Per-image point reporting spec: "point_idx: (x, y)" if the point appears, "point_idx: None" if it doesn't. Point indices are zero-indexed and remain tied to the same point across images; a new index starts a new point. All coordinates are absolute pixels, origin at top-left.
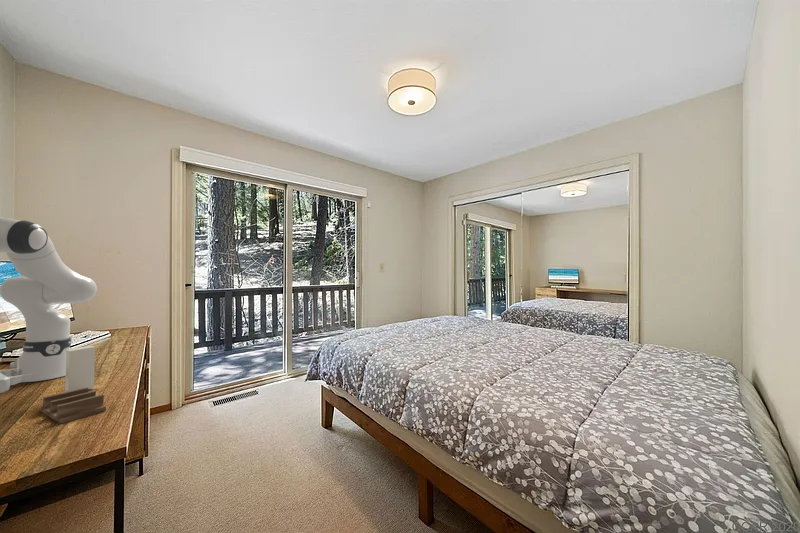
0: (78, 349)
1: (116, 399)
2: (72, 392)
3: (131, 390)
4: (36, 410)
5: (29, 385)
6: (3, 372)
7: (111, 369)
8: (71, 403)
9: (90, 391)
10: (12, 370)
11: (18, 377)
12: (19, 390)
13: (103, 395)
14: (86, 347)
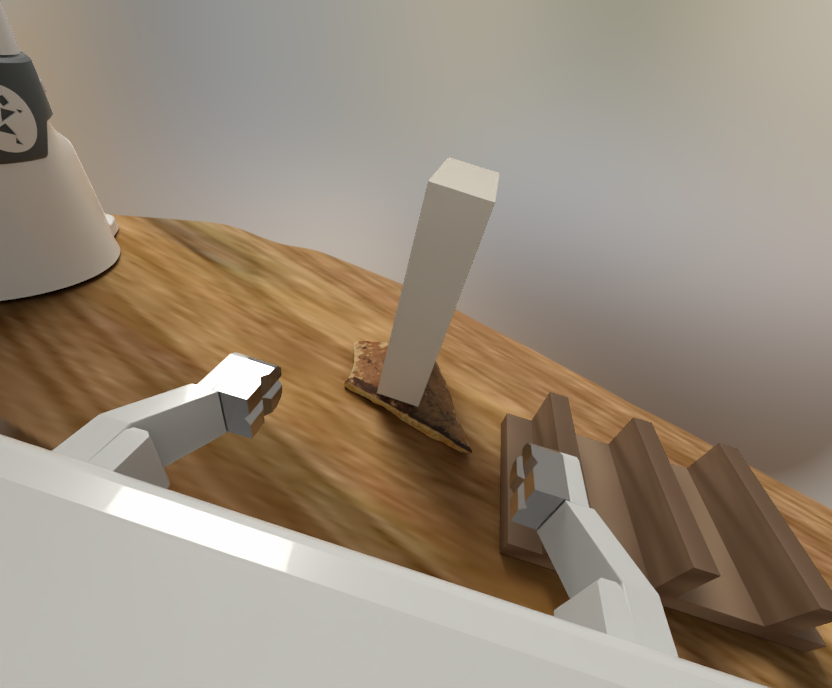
0: (491, 188)
1: (596, 408)
2: (575, 441)
3: (532, 350)
4: (474, 554)
5: (31, 328)
6: (156, 435)
7: (239, 232)
8: (808, 559)
9: (440, 371)
10: (232, 397)
11: (613, 551)
12: (39, 375)
13: (737, 450)
14: (474, 172)
